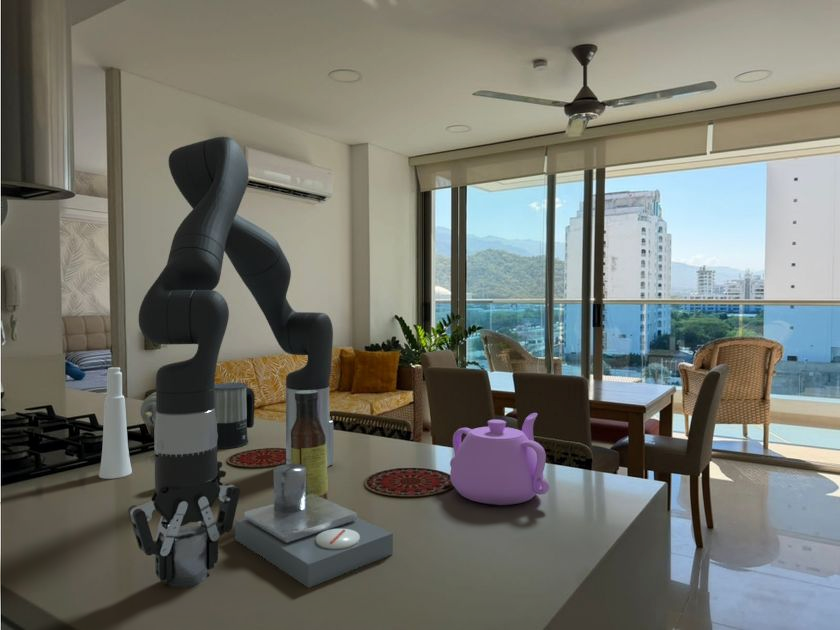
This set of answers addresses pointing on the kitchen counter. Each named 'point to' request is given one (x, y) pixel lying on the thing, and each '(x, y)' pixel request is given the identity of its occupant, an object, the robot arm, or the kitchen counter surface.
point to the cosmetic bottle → (114, 430)
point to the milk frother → (233, 413)
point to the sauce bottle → (310, 443)
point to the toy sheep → (149, 411)
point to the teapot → (498, 463)
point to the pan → (301, 518)
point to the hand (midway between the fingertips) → (187, 573)
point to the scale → (319, 549)
